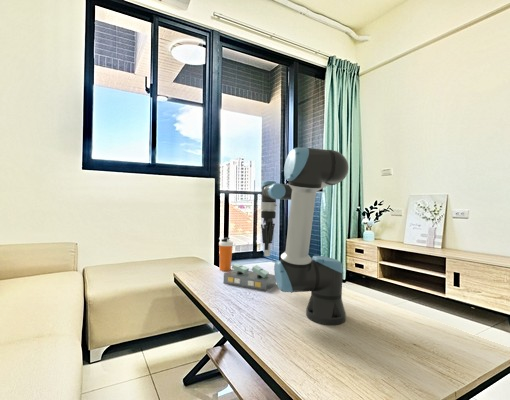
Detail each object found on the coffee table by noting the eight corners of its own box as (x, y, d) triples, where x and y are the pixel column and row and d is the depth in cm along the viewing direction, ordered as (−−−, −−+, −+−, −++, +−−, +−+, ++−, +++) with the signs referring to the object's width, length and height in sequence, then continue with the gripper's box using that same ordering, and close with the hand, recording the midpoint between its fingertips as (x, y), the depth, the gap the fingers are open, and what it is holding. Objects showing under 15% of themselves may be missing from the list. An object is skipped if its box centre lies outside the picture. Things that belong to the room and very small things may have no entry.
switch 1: (244, 273, 148) (245, 269, 147) (231, 268, 151) (232, 264, 151) (248, 271, 152) (249, 267, 152) (236, 266, 155) (236, 262, 155)
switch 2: (264, 277, 143) (265, 274, 142) (251, 270, 146) (252, 266, 145) (267, 275, 147) (269, 272, 146) (255, 268, 150) (256, 264, 150)
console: (265, 291, 137) (266, 278, 137) (223, 283, 148) (223, 271, 148) (275, 284, 149) (276, 272, 149) (235, 277, 160) (236, 266, 160)
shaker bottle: (233, 268, 181) (234, 237, 181) (230, 271, 172) (231, 239, 172) (219, 267, 182) (220, 237, 182) (216, 270, 173) (217, 238, 173)
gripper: (270, 211, 137) (268, 258, 137) (279, 210, 149) (278, 254, 148) (256, 210, 140) (255, 257, 140) (266, 210, 152) (265, 253, 152)
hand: (267, 255), depth 144 cm, fingers closed
